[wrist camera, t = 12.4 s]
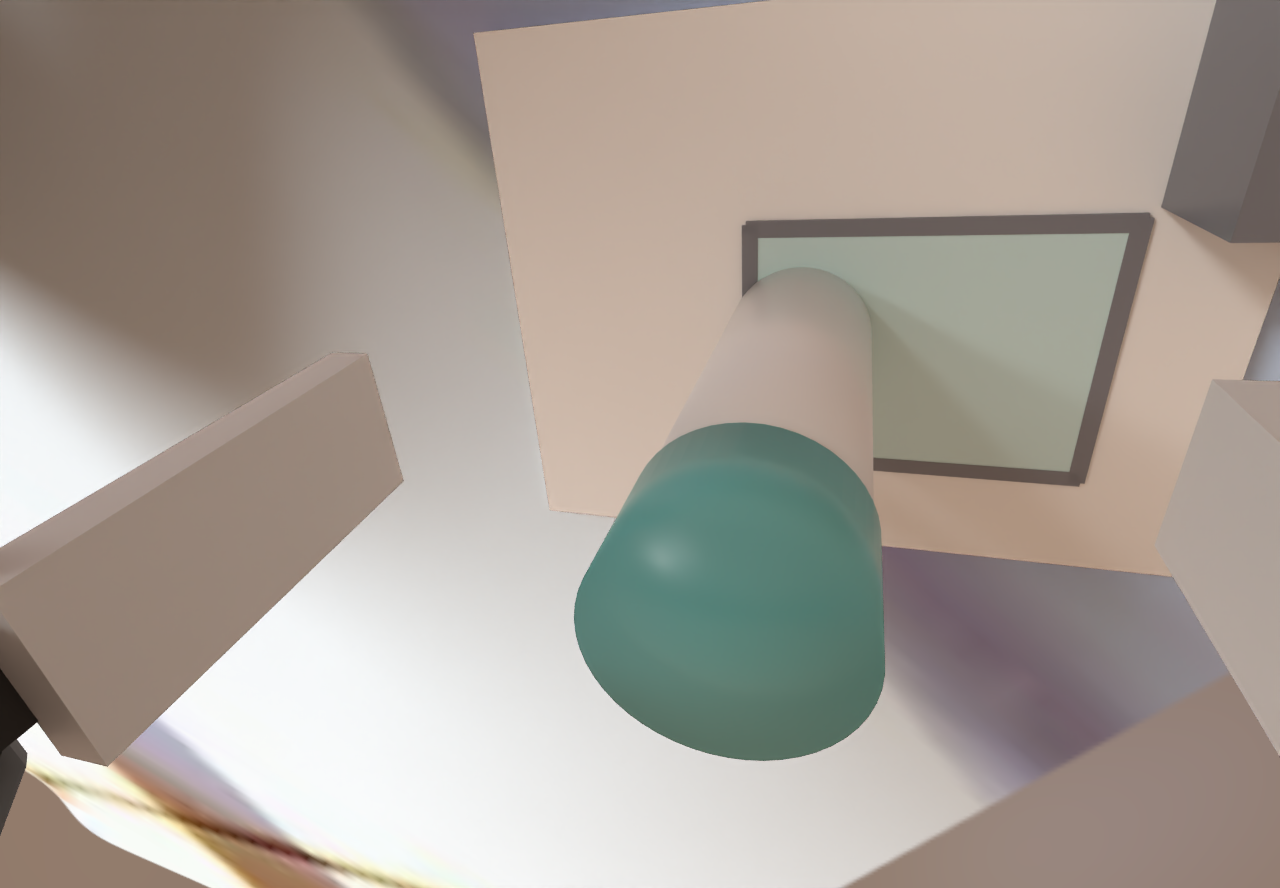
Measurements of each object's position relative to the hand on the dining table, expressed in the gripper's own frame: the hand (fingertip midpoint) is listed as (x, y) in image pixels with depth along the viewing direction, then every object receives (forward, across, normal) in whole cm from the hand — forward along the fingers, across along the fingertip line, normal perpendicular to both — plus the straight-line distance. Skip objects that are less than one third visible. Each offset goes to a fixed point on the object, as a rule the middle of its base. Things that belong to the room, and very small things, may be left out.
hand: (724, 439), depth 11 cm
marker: (+8, +1, -1) cm, 8 cm away
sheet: (+8, +2, 0) cm, 8 cm away
